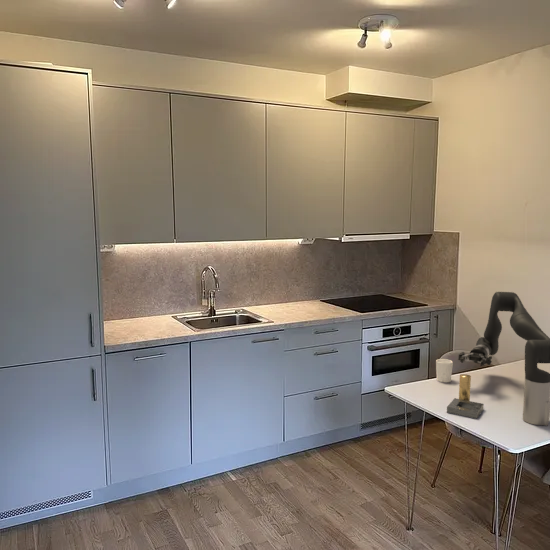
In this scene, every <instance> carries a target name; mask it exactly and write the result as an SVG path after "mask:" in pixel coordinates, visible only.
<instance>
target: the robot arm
mask: <svg viewBox="0 0 550 550" xmlns="http://www.w3.org/2000/svg"><path fill="white" fill-rule="evenodd" d="M491 297H492V298H491V302H490V308H489V313H488V320H487V324H486V327H485V330H484V332H483V336H481V337H479V338H478V339H477V341H476V345H475V346H474V347H473V348H472V349H471V350H470V351H469V353H465V352H464V351H461V352H460V353H459V354H458V359H457V360H458V361H460V362H461V364H463V363H465V362H473V363H475V364H478V365H480V367H483V366H485V365H487V366H490V365H492V363H493V357H492V356H495V355H496V354H497V353H498V352H499V338H500V335H501V333H502V330H503V326H502V325H503V324H502V322H501V320H500V318H499V316H498V313H499V312H509V313H510V312H511V313H512V314H511V316H510V318H509V325H510V327H511V328H512V330H513V331H514V333H515V334H516V335H517V336H518V337H519V338H521V339H523V340H525V341H526V343H525V345H524V388H523V406H522V420H523V421H524V422H526V423H528V424H530V425H535V426H547V427H548V425H549V422H550V372H548V371H546V370H543V369H541V368H539V367H538V364H550V337H549V336H548V335H547V334H546V333H545V332H544V331H543V330H542V329H541V328H540V326H539V325H538V324H537V322H536V320H535V319H534V318H533V317H532V315H531V314H530V313H529V312H528V311H527V308H525V306H524V304H523V302H522V300H521V298H520V297H519V296H518V294H517V293H516V292H513V291H495V292H494V293H493V295H492V296H491Z"/></svg>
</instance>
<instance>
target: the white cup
mask: <svg viewBox="0 0 550 550" xmlns="http://www.w3.org/2000/svg"><path fill="white" fill-rule="evenodd" d="M435 372H436V381H437V382H440V383H450V382H451V381H452V373H453V361H452V360H451V359H447V358H439V359H436V360H435Z"/></svg>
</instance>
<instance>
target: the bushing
mask: <svg viewBox="0 0 550 550" xmlns="http://www.w3.org/2000/svg"><path fill="white" fill-rule="evenodd" d="M471 379H472V376H471V375H470V374H466V373H462V374H459V383H458V384H459V387H458V399H461V400H467V401H471V382H472V381H471Z"/></svg>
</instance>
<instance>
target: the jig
mask: <svg viewBox="0 0 550 550" xmlns="http://www.w3.org/2000/svg"><path fill="white" fill-rule="evenodd" d="M484 407H485V406H484V403H481V402H476V401H472V400H470V401H467V400H461V399H459V398H453V399H452V400H451V402H450V403H449V404H448V405H447V406H446V413H448V414H452V415H456V416H461V417H465V418H471V419H476V420H477V419H478V418H479V416H480V413H481V414H482V412H483V411H484Z"/></svg>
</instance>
